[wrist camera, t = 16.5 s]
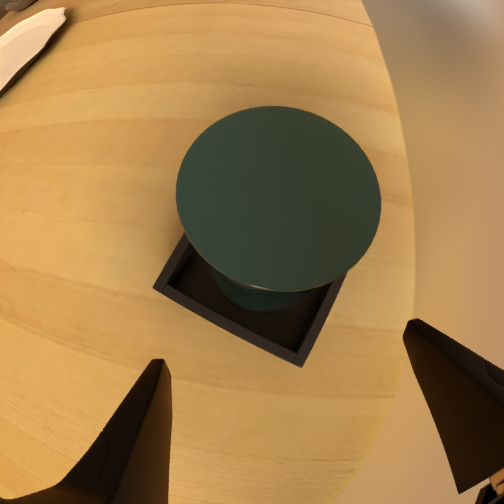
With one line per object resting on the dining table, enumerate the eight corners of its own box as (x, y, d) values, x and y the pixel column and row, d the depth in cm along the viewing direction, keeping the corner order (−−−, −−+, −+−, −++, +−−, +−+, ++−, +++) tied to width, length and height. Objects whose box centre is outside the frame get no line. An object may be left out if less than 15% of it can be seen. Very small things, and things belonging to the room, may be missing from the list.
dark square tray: (352, 236, 19) (366, 223, 16) (294, 363, 17) (302, 368, 14) (233, 177, 20) (232, 157, 17) (164, 293, 18) (151, 287, 15)
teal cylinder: (308, 316, 17) (384, 299, 7) (206, 307, 17) (157, 277, 7) (313, 221, 18) (371, 121, 9) (219, 211, 18) (197, 100, 9)
